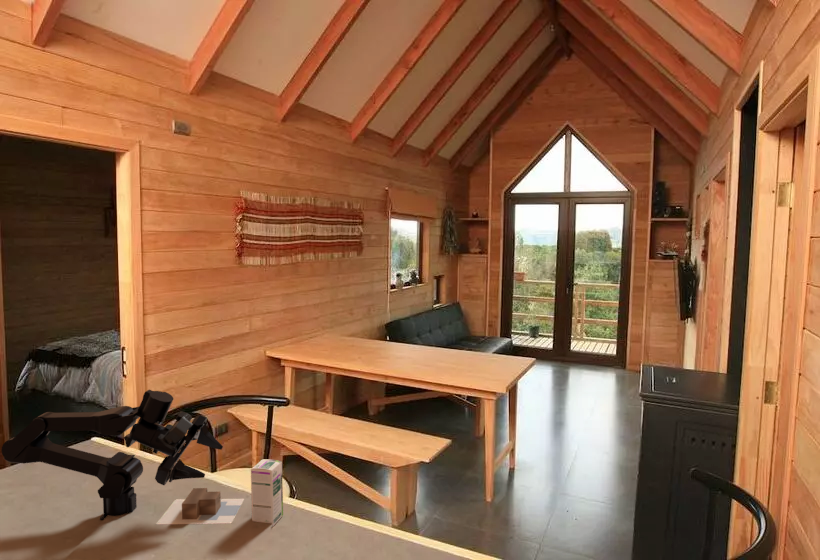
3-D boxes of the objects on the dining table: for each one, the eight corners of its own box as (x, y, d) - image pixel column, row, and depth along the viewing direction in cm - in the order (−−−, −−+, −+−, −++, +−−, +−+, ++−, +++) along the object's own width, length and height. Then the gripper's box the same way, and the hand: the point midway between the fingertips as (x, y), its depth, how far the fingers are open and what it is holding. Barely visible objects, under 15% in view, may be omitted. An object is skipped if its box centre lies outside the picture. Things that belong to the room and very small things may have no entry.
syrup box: (273, 527, 127) (272, 470, 126) (250, 524, 128) (250, 467, 127) (283, 515, 133) (283, 460, 131) (262, 512, 134) (261, 458, 133)
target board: (155, 528, 126) (155, 524, 126) (175, 503, 138) (175, 499, 138) (231, 527, 127) (231, 523, 127) (244, 502, 139) (244, 498, 139)
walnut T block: (182, 519, 128) (181, 503, 128) (193, 503, 136) (193, 488, 136) (213, 518, 129) (212, 503, 128) (223, 502, 137) (222, 487, 136)
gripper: (138, 443, 119) (201, 471, 120) (182, 390, 135) (237, 415, 136) (131, 472, 124) (192, 499, 125) (174, 418, 141) (228, 442, 142)
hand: (213, 461), depth 132 cm, fingers open, 9 cm apart
